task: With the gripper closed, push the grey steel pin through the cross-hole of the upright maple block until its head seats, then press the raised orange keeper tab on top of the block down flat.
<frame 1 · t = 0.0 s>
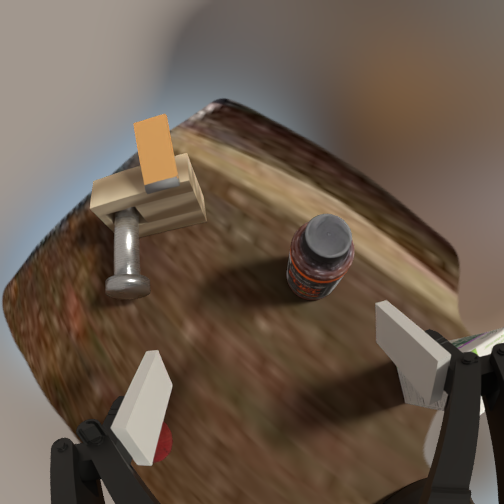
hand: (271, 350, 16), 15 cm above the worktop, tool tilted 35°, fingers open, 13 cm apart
onion: (158, 432, 27), on the worktop
pin: (126, 238, 31), point 5 cm above the worktop, slide at 0.0 cm
supplement bottle: (311, 277, 33), on the worktop
keeper tab: (156, 153, 27), point 12 cm above the worktop, hinge at 36.1°, touching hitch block
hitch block: (162, 218, 38), on the worktop
syrup box: (418, 374, 28), on the worktop
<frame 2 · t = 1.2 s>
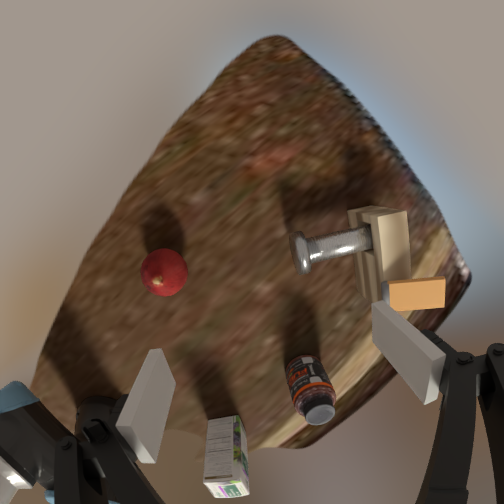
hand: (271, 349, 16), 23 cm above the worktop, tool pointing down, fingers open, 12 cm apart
onion: (170, 264, 38), on the worktop
pin: (346, 241, 34), point 5 cm above the worktop, slide at 0.0 cm
supplement bottle: (302, 367, 43), on the worktop
keeper tab: (413, 294, 29), point 11 cm above the worktop, hinge at 29.8°
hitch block: (365, 249, 39), on the worktop
syrup box: (226, 426, 45), on the worktop
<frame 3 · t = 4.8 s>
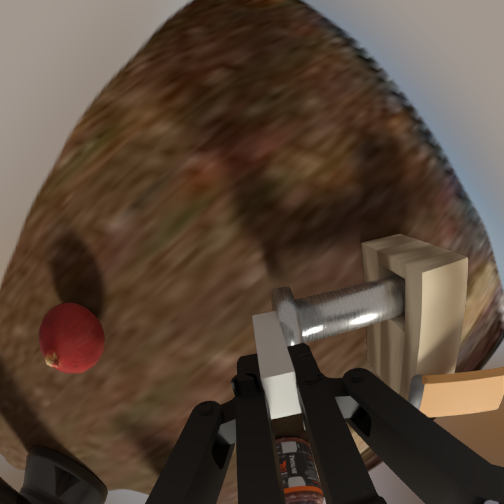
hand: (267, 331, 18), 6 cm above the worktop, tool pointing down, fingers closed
onion: (90, 318, 23), on the worktop
pin: (369, 303, 19), point 5 cm above the worktop, slide at 0.8 cm, touching gripper
supplement bottle: (284, 448, 28), on the worktop
keeper tab: (458, 394, 14), point 11 cm above the worktop, hinge at 29.7°
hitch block: (385, 301, 24), on the worktop
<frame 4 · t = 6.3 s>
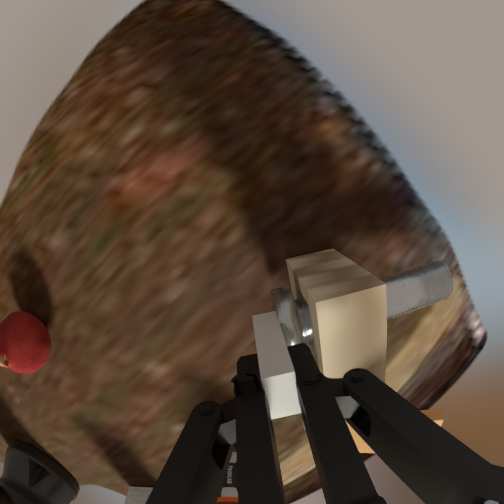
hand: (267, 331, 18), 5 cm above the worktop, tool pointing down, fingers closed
onion: (43, 325, 23), on the worktop
pin: (370, 303, 19), point 5 cm above the worktop, slide at 7.4 cm, touching gripper
supplement bottle: (230, 457, 28), on the worktop
keeper tab: (378, 433, 14), point 11 cm above the worktop, hinge at 29.7°
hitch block: (319, 320, 24), on the worktop
syrup box: (152, 493, 30), on the worktop
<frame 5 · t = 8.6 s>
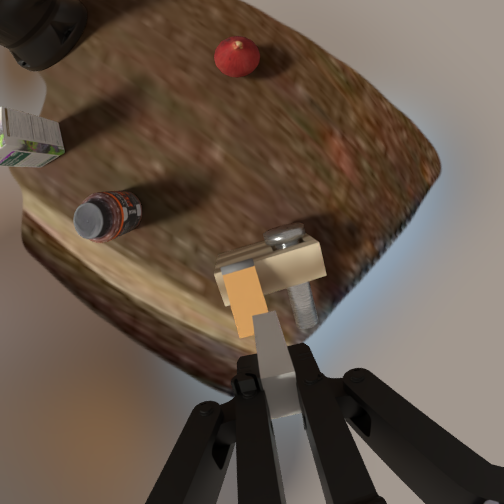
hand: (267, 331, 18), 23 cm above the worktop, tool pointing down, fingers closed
onion: (236, 67, 35), on the worktop
pin: (296, 278, 36), point 5 cm above the worktop, slide at 7.4 cm
supplement bottle: (124, 210, 38), on the worktop
keeper tab: (246, 297, 30), point 11 cm above the worktop, hinge at 29.7°
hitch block: (263, 255, 41), on the worktop
syrup box: (49, 144, 35), on the worktop
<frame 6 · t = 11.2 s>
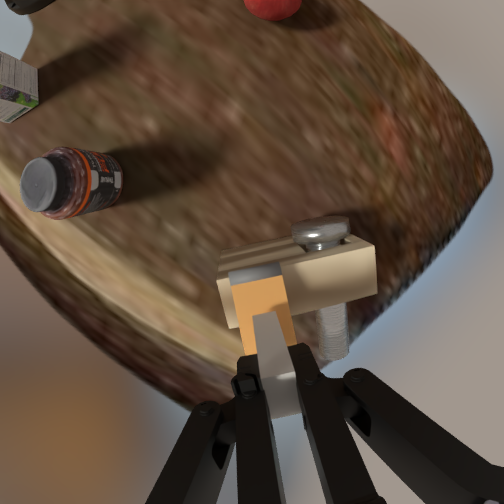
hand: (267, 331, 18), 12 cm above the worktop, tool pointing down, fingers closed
onion: (268, 14, 23), on the worktop
pin: (329, 293, 26), point 5 cm above the worktop, slide at 7.4 cm
supplement bottle: (101, 181, 27), on the worktop
keeper tab: (265, 322, 19), point 11 cm above the worktop, hinge at 24.1°, touching gripper
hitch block: (283, 257, 30), on the worktop
syrup box: (24, 95, 23), on the worktop
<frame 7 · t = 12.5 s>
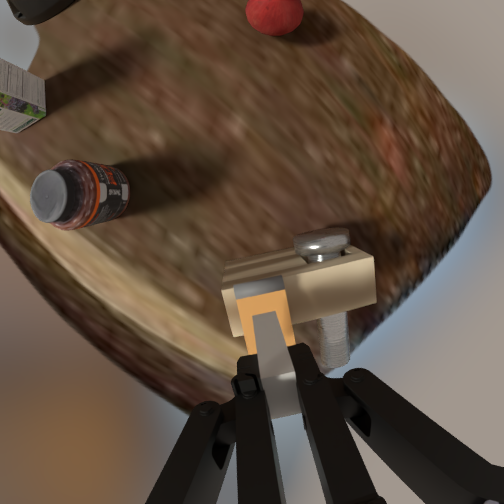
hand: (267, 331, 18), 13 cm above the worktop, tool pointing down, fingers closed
onion: (270, 28, 25), on the worktop
pin: (330, 302, 26), point 5 cm above the worktop, slide at 7.4 cm
supplement bottle: (108, 193, 28), on the worktop
keeper tab: (268, 331, 21), point 10 cm above the worktop, hinge at 10.0°
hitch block: (285, 267, 31), on the worktop
syrup box: (31, 106, 25), on the worktop
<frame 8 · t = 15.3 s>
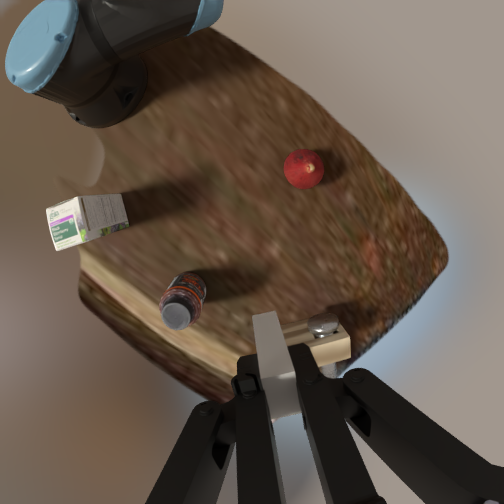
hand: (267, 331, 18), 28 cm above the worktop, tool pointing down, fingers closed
onion: (298, 170, 44), on the worktop
pin: (326, 353, 45), point 5 cm above the worktop, slide at 7.4 cm
supplement bottle: (189, 287, 47), on the worktop
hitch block: (301, 330, 50), on the worktop
syrup box: (111, 213, 44), on the worktop
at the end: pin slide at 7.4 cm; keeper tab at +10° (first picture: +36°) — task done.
